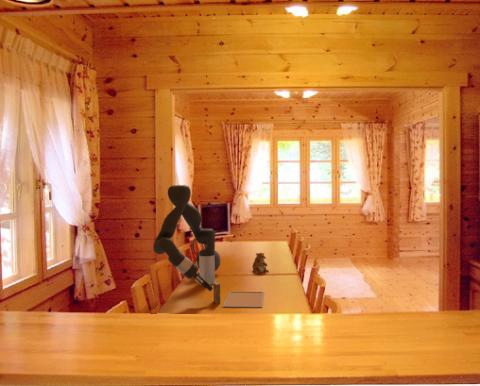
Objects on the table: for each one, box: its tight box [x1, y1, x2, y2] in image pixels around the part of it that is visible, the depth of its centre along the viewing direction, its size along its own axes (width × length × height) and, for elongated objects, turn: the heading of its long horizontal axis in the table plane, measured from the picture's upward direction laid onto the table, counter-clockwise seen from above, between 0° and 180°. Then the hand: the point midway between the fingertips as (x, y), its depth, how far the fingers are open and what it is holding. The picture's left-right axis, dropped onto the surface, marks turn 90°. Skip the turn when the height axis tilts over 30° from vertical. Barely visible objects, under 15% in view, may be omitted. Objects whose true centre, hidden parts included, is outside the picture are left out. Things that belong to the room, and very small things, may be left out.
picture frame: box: [222, 291, 265, 309], centre depth 220 cm, size 19×1×28 cm
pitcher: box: [191, 233, 221, 272], centre depth 281 cm, size 11×19×30 cm, turn 80°
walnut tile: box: [212, 281, 221, 305], centre depth 216 cm, size 2×6×10 cm, turn 17°
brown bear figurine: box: [251, 252, 270, 275], centre depth 287 cm, size 10×14×13 cm
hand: (211, 289), depth 215 cm, fingers closed
